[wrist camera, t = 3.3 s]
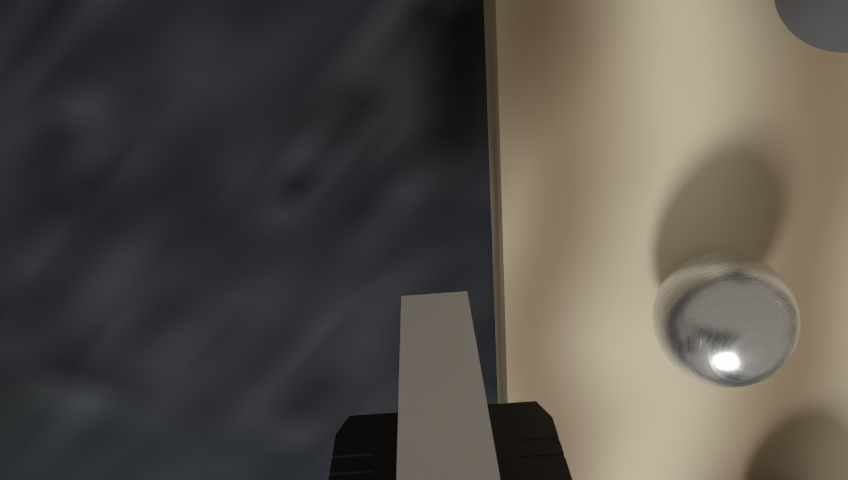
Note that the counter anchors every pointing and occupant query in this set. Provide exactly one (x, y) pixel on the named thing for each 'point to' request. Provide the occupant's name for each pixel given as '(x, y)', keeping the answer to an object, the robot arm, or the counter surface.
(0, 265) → the counter surface
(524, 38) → the board
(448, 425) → the robot arm
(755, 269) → the steel ball
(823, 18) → the black rubber ball
